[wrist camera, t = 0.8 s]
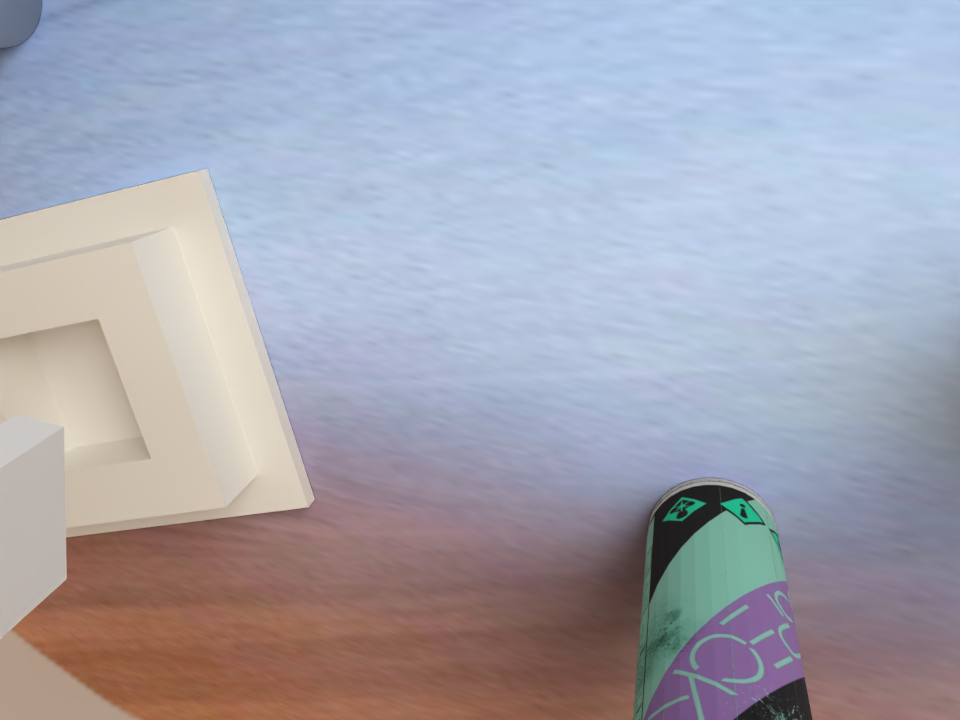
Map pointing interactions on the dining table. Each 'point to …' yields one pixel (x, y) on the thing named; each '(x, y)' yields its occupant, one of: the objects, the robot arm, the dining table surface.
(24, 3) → the peg
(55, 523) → the robot arm
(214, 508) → the socket
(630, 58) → the dining table surface
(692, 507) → the spray can
